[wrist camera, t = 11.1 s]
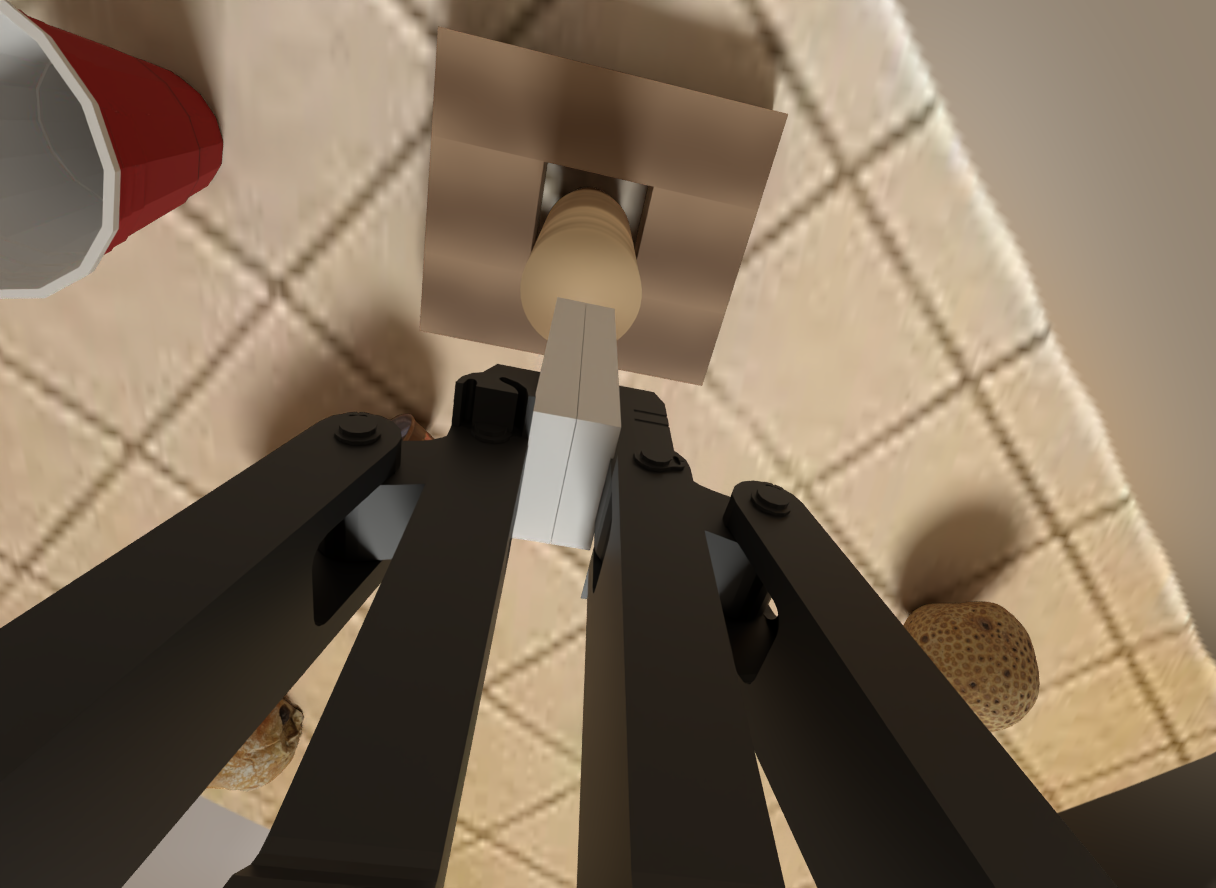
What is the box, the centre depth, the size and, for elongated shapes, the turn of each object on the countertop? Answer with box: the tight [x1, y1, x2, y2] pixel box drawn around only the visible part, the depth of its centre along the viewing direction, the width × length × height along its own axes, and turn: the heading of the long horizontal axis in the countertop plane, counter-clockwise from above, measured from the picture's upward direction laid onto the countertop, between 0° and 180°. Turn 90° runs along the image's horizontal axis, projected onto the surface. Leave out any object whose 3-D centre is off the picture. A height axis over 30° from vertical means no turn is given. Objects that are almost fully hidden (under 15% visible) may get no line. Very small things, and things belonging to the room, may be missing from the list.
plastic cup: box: [0, 0, 223, 299], centre depth 25 cm, size 11×11×12 cm
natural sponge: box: [903, 602, 1040, 732], centre depth 44 cm, size 9×9×10 cm
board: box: [420, 26, 788, 386], centre depth 32 cm, size 14×16×3 cm
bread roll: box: [207, 698, 304, 792], centre depth 52 cm, size 10×10×8 cm
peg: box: [520, 187, 642, 341], centre depth 27 cm, size 4×4×14 cm
